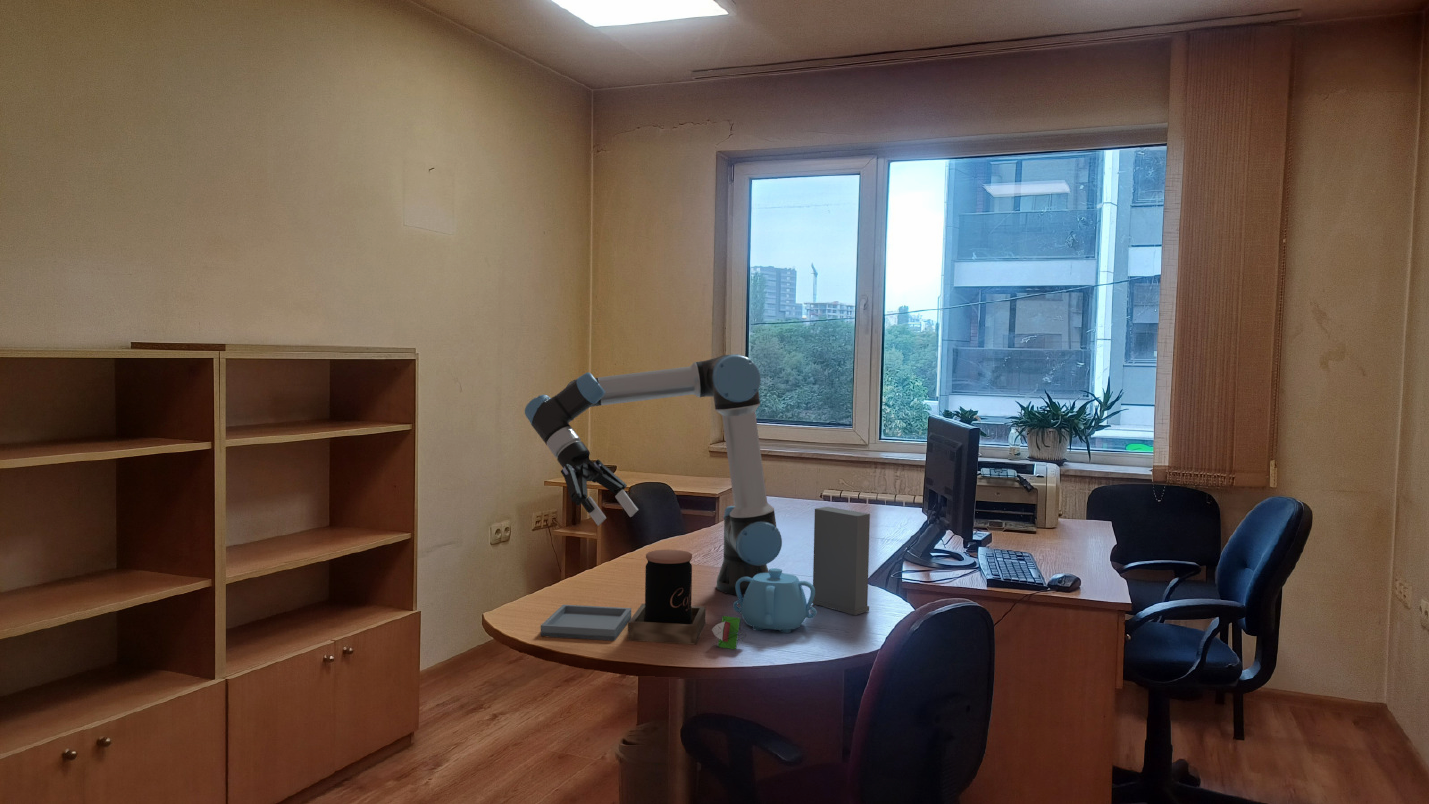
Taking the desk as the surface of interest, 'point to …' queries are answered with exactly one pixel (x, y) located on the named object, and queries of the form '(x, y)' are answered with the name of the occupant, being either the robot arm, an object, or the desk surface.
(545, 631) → the grey tray
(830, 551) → the upright grey slab box
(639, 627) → the walnut collar
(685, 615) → the coffee jar
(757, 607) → the decorative pot
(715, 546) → the desk surface
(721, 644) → the geometric puzzle
